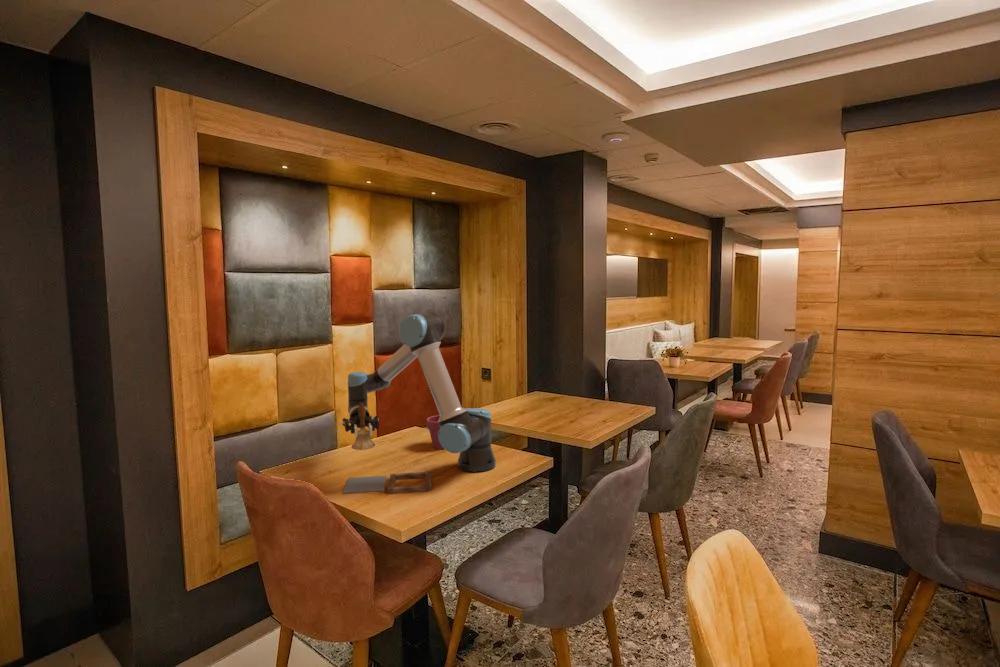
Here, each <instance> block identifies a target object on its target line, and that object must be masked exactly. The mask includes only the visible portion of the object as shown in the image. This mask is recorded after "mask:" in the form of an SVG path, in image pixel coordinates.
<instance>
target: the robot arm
mask: <svg viewBox="0 0 1000 667" xmlns="http://www.w3.org/2000/svg"><path fill="white" fill-rule="evenodd" d="M446 331H447V323H446V321H445V319H444V317H442V316H441V315H440V314H438V313H435V312H427V313H414V314H409V315H407V316H405V317H404V318H403V319H402V320H401V322H400V324H399V327H398V336H399V339H400V341H401V343H402V346H401V347H399V348H398V350H396V351H395V352H394V353H393V354H392V355H391V356H390V357H388V358H387V360H386V361H385V362H383V363H382V364H381V365H380V366H379V367H378V368H377V369H375V370H374V372H373V373H369V374H367V373H366V372H364V371H354V372H350V373H348V376H347V390H348V391H347V393H348V394H347V396H348V397H347V398H348V401H347V402H348V404H347V405H348V407H347V408H348V414H349V418H345V417H344V418H342V426H343V427H344V430H345V432H349V431H350V434H352V435H354V436H355V438H356V437H357V432H358V429H360V418H359V415H358V408H359V404H360V403H363V404H364V407H365V410H366V415H365V428H366V427H367V429H368V431H369V433H370V437H371V436H373V432H374V431H376V430H379V429H380V423H379V421H380V420H379V418H380V417H379V415H375V416H373V417H372V415H370V411H369V408H368V394H369V393H372V392H377V391H380V390H384V389H386V388H388V387H389V386H390V385H391V383H392V380H393V379H395V377H397V375H399V374H400V373H401V372H402V371H403V370H405V369H406V368H407V367H408V366H409V365H410V364H411V363H412V362H414V361H415V360H416V359H418V362H419V363H420V367H421V370H422V371H423V374H424V377H425V380H426V382H427V385H428V387H429V390H430V393H431V395H432V398H433V400H434V403H435V406H436V409H437V411H438V415H440V418H439V420H438V423H439V426H440V430H439V433H438V439H439V442H440V444H441V446H442V447H443V448H444V449H443V450H445V451H447V452H449V453H451V454H459V455H458V459H457V467H458V468H459V469H460V470H462V471H464V472H469V471H470V472H469V473H478V472H477V471H483V472H486V471H485V470H488V471H490V470H489V469H491V470H493V469H494V468H495V467H496V466H495V465H496V461H497V460H496V457H495V455H494V451H493V448H492V415H491V414H492V413H491V411H490V410H488V409H486V408H478V407H477V408H476V407H475V408H474V407H468V408H467V407H466V408H464V407H462V405H461V402H460V399H459V397H458V394H457V392H456V389H455V386H454V384H453V382H452V379H451V376H450V374H449V373H450V372H449V371H448V369H447V366H446V364H445V361H444V358H443V355H442V353H441V350H440V345H441V343H442V342H441V340H442V339H443V338H444V337H445V335H446ZM493 467H494V468H493ZM492 468H493V469H492ZM471 471H472V472H471Z"/></svg>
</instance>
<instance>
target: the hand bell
mask: <svg viewBox="0 0 1000 667" xmlns="http://www.w3.org/2000/svg"><path fill="white" fill-rule="evenodd" d="M358 415H359V418H360V428H359V430H357V437H355V441H354V442H353V444H352V445H351V449H353V450H357V451H361V450H363V451H365V450H368V449H369V450H370V449H373V448H374V447H375V446H376V444H375V442H374V441H373V439H371V438H372V437H371V436H370V433H369V429H368V430H367V429H366V427H365V415H366V410H365V407H364V404H363V403H360V404H359V408H358Z"/></svg>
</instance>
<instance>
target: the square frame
mask: <svg viewBox="0 0 1000 667" xmlns="http://www.w3.org/2000/svg"><path fill="white" fill-rule="evenodd" d="M431 472H432V471H418V472H402V473H401V472H400V473H390V474H389V480H388V486H387V494H388V493H391V494H400V493H399V492H406V493H414V492H413V491H421V492H429V491H428V490H431V491H432V473H431ZM424 478H425V480H424V481H425V484H421V485H420V484H417V485H403V486H396V480H408V479H409V480H411V479H424Z"/></svg>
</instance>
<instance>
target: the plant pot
mask: <svg viewBox="0 0 1000 667" xmlns="http://www.w3.org/2000/svg"><path fill="white" fill-rule="evenodd" d="M439 418H440V414H438V415H433V416H429V417H427V419H426V428H427V429H428V430H429V435H430V439H431V443H432V446H433V448H434V449H437V450H445V449H444V448H443V447H442V446H441V444H440V442H439V439H438V433H439V430H440V426H439V423H438V420H439Z"/></svg>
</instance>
